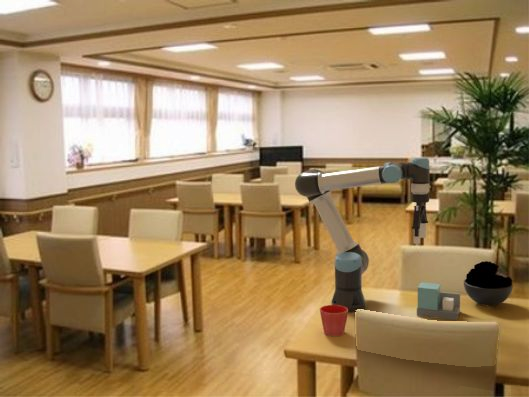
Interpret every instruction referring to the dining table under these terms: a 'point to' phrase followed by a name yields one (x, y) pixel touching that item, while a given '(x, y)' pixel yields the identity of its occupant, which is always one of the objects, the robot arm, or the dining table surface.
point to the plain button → (448, 303)
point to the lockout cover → (429, 296)
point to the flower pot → (334, 319)
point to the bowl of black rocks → (487, 284)
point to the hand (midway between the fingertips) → (419, 240)
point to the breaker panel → (440, 312)
